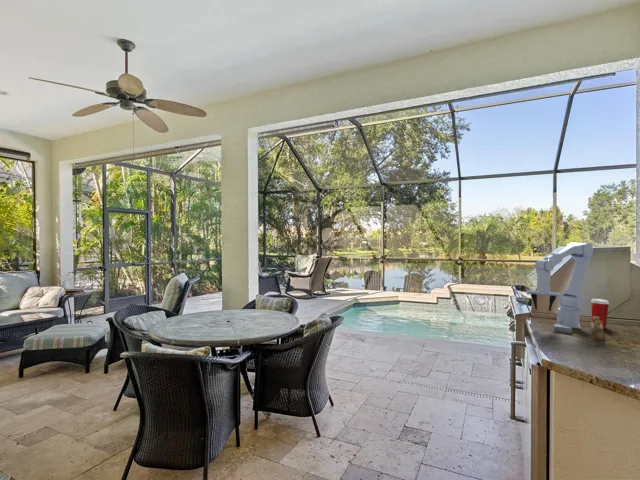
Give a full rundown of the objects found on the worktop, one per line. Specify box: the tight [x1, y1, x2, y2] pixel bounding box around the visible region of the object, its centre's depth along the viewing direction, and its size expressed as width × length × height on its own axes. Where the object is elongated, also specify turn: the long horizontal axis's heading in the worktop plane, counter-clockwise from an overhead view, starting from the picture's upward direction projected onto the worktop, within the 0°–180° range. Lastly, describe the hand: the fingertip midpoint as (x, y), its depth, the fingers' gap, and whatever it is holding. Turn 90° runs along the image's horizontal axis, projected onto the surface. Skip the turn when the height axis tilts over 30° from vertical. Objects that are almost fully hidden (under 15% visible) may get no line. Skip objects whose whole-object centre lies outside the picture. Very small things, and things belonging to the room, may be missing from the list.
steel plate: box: [553, 322, 573, 335], centre depth 173 cm, size 7×7×3 cm
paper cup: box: [590, 298, 610, 329], centre depth 182 cm, size 8×8×14 cm
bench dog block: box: [589, 316, 604, 342], centre depth 165 cm, size 4×14×8 cm, turn 144°
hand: (542, 309), depth 177 cm, fingers open, 5 cm apart
